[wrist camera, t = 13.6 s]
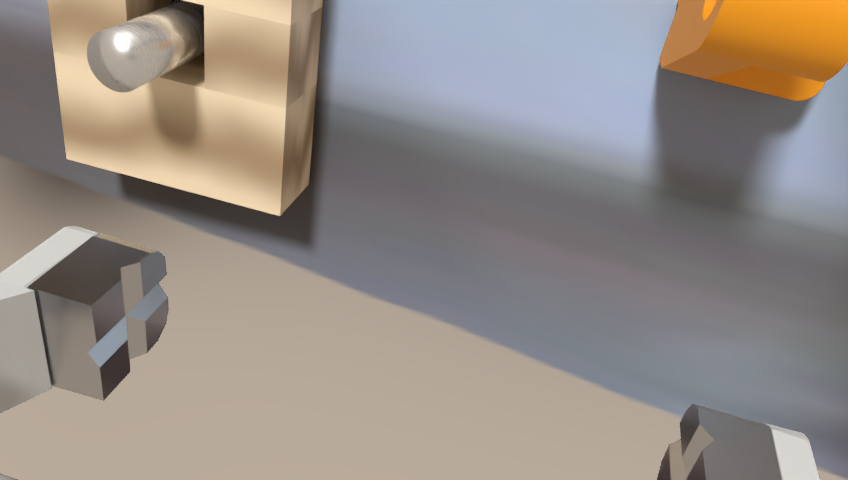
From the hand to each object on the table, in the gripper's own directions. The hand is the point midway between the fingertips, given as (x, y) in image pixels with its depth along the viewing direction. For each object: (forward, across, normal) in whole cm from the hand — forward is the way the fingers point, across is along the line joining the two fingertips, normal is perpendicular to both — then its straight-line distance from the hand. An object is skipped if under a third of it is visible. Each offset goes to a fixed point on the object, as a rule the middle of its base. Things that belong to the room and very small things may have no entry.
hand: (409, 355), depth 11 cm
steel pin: (+30, +20, +7) cm, 37 cm away
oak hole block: (+30, +20, +6) cm, 37 cm away
